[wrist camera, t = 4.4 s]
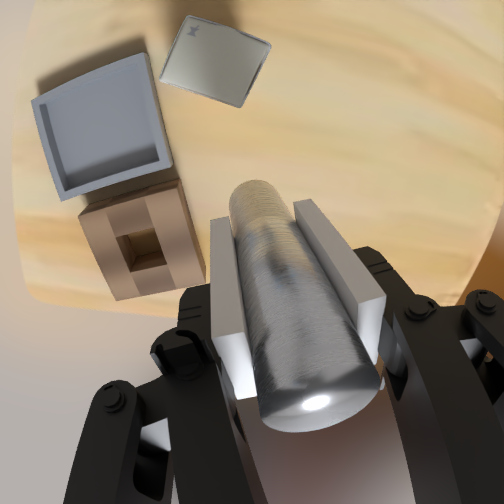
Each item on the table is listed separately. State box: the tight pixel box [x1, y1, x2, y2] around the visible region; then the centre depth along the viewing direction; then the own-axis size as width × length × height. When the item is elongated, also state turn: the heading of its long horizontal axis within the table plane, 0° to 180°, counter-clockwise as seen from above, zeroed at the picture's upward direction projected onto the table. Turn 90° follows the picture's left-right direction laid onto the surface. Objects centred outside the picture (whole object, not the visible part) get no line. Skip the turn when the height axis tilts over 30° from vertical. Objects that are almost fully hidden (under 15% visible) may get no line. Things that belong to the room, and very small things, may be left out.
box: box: [159, 15, 271, 108], centre depth 18 cm, size 5×4×11 cm
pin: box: [229, 180, 380, 432], centre depth 11 cm, size 3×3×12 cm
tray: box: [31, 52, 174, 202], centre depth 23 cm, size 11×12×2 cm
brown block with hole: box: [78, 179, 206, 301], centre depth 29 cm, size 10×10×3 cm
